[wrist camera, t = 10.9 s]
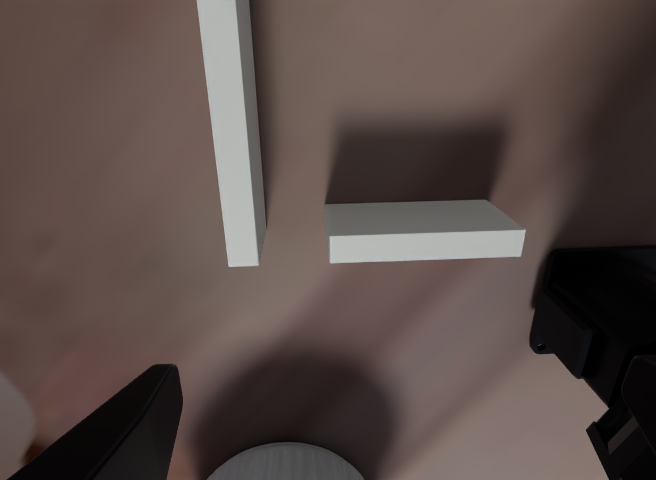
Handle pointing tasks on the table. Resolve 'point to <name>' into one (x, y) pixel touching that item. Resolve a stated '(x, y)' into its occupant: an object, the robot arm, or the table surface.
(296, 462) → the ramekin
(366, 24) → the table surface
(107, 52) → the table surface
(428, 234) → the shelf slot
